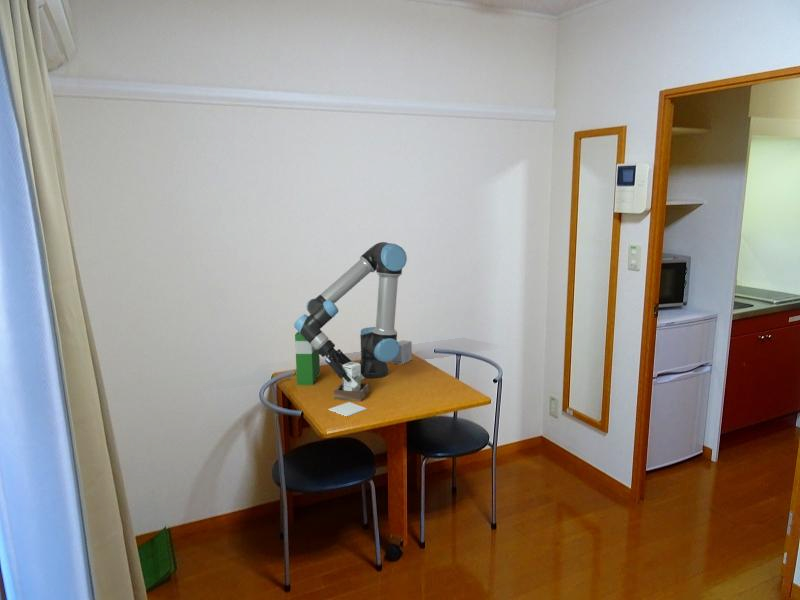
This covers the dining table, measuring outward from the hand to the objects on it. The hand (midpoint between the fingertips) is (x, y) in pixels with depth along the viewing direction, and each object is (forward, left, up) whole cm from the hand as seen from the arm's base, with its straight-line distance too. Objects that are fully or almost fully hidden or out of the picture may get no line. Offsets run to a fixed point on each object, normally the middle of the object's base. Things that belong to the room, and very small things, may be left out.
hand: (359, 382), depth 248 cm
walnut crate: (+2, -3, -6) cm, 7 cm away
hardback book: (0, -36, -6) cm, 36 cm away
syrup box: (+2, -3, -6) cm, 7 cm away
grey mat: (+14, +8, -6) cm, 17 cm away
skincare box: (-50, -22, -6) cm, 55 cm away
